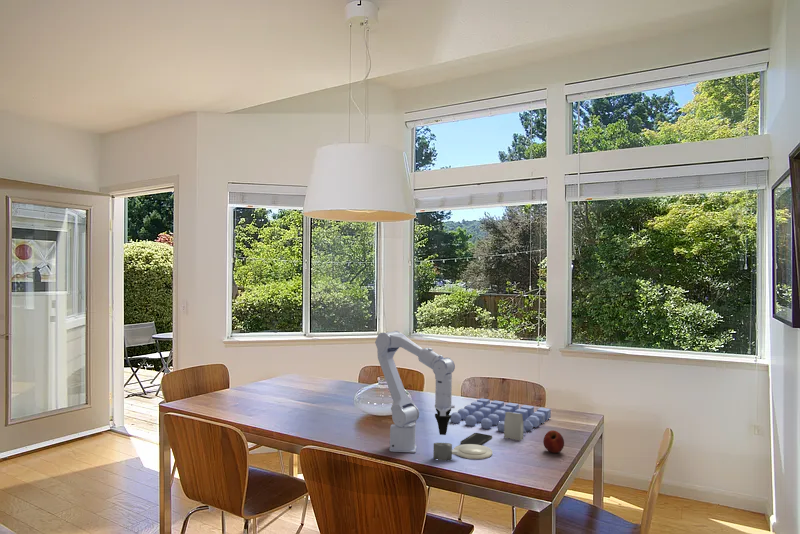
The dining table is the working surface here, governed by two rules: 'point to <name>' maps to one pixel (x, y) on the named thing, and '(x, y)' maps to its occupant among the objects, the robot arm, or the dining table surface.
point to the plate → (473, 451)
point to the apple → (553, 441)
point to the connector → (443, 451)
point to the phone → (476, 439)
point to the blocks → (499, 414)
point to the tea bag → (513, 426)
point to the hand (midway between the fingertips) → (443, 431)
